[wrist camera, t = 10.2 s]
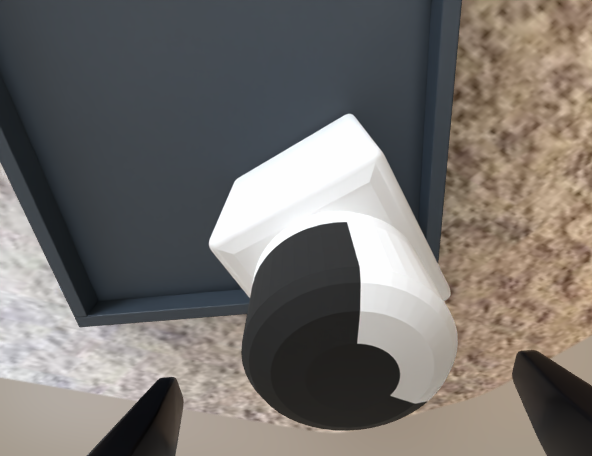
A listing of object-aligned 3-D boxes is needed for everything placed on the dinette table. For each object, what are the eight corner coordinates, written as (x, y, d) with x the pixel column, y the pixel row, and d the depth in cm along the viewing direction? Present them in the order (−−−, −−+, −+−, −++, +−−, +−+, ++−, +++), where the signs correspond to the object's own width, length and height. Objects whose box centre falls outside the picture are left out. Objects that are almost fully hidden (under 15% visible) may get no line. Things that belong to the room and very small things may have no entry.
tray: (424, 278, 23) (435, 299, 22) (95, 305, 24) (79, 327, 23) (471, -375, 12) (503, -452, 10) (-158, -275, 13) (-236, -328, 11)
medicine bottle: (299, 274, 23) (303, 484, 12) (232, 179, 20) (158, 343, 9) (407, 221, 21) (524, 410, 10) (351, 109, 18) (430, 209, 7)
